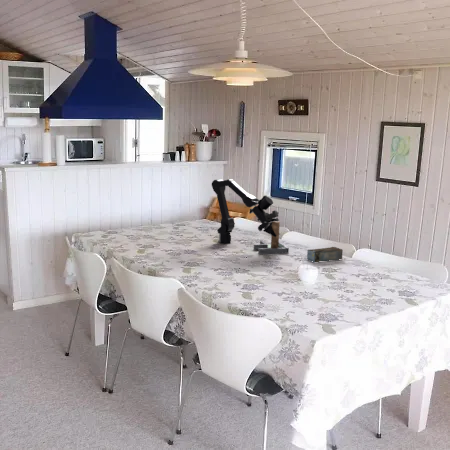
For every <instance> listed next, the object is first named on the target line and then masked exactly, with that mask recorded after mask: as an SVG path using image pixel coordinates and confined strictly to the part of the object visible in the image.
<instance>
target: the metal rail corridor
mask: <svg viewBox="0 0 450 450" xmlns="http://www.w3.org/2000/svg"><path fill="white" fill-rule="evenodd" d="M268 244H269V243H266V242H265V241H264V240H262V239H260V240H259V243H258V244H253V250H254V251H258V252H257V254H259V255H271V254H273V255H275V254H289V253H290V252H289V250H290V249H289V247H288V246H287V245H285V244H284V243H282V242H281V241H279V246H278V247H279V248H268Z"/></svg>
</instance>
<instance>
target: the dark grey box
mask: <svg viewBox="0 0 450 450" xmlns="http://www.w3.org/2000/svg"><path fill="white" fill-rule="evenodd" d="M306 253H307V255H306V258H307V259H308V260H307V261H309V260H310V262H311V261H313V262H312V263H314V262H318V263H320V262H319V261H327V262H330V261H329V260H335V261H340V260H339V259H342V260H343V249H342V248H339V247H336V246H331V247H325V248H323V247H322V248H315V249H314V248H313V249H307V252H306Z"/></svg>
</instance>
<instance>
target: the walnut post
mask: <svg viewBox="0 0 450 450" xmlns="http://www.w3.org/2000/svg"><path fill="white" fill-rule="evenodd" d="M280 223H281V222H280V221H273V222H272V229H273V231H274V232H275V234H276V237H274V236H272V235H271V234H270V235H271V237H270V238H271V239H270V244H271V248H278V246H279V242H280V235H279V234H280V225H281V224H280Z"/></svg>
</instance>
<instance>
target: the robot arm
mask: <svg viewBox="0 0 450 450" xmlns="http://www.w3.org/2000/svg"><path fill="white" fill-rule="evenodd" d="M211 187H212V190H213V192H214V193H215V195H216V197H217V202H218V207H219V212H220V216H221V219H220V227H218V229H217V230H216V231H217V234H219V237H218V238H219V239H218V242H219V243H220V244H221V245H222V244H231V243H232V235H231V233H232V232H233V230H234V228H235V224H236V223H235V218H234V217H231V216H230V213H229V207H228V203H227V199H226V194H225V192H226V188H227V187H228V188H230V189H231V190H232V191H233V193H235V194H236V195H237V196H239V198H240V199H241V200H242V202H243V204H244V205H245V206H246V207H247V208H250V209H249V213H248V214H249V215H250V214H253V215H255V217H256V218H257V221H258V222H260V224H259V225H258V226H257V229H258V231H259V232H264V233H267V234H269V235H272V236H274V237H276V234H275V232H274V231H273V229H272V222H273V221H278V222H280V219H279V218H278V217H279V212H278V211H277V210H276V209H275V210H273V211H271V213H269V212H266V211H267V210H269V208H270V207H272V205H273V204H274V202H273V200H272V198H270V197H269V196H267V195H263V197H261V199H259V198H257V197H256V196H255V195H253V194H250V193H249V192H247V191H246V190H244V188H243V187H241V186H240V184H239V183H237V182H236V181H235V180H234V179H233V178H229V179H226V180H224V179H222V178H219V179H214V180H212V182H211ZM252 207H253V208H252ZM280 235H281V233H279V236H280Z"/></svg>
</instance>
